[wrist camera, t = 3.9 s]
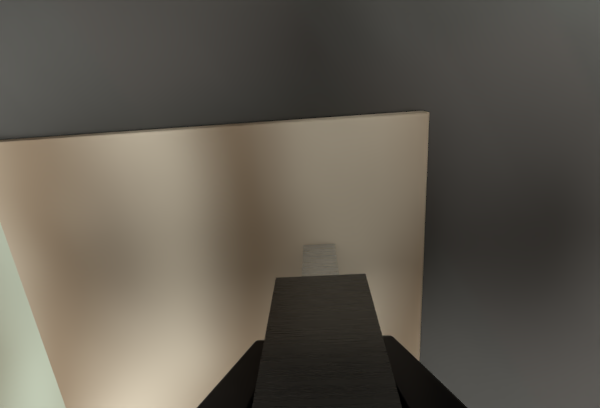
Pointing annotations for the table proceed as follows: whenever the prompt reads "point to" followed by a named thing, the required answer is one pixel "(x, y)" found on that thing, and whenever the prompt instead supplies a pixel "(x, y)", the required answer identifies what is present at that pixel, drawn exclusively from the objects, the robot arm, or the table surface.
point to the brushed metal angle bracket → (324, 341)
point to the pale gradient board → (193, 248)
